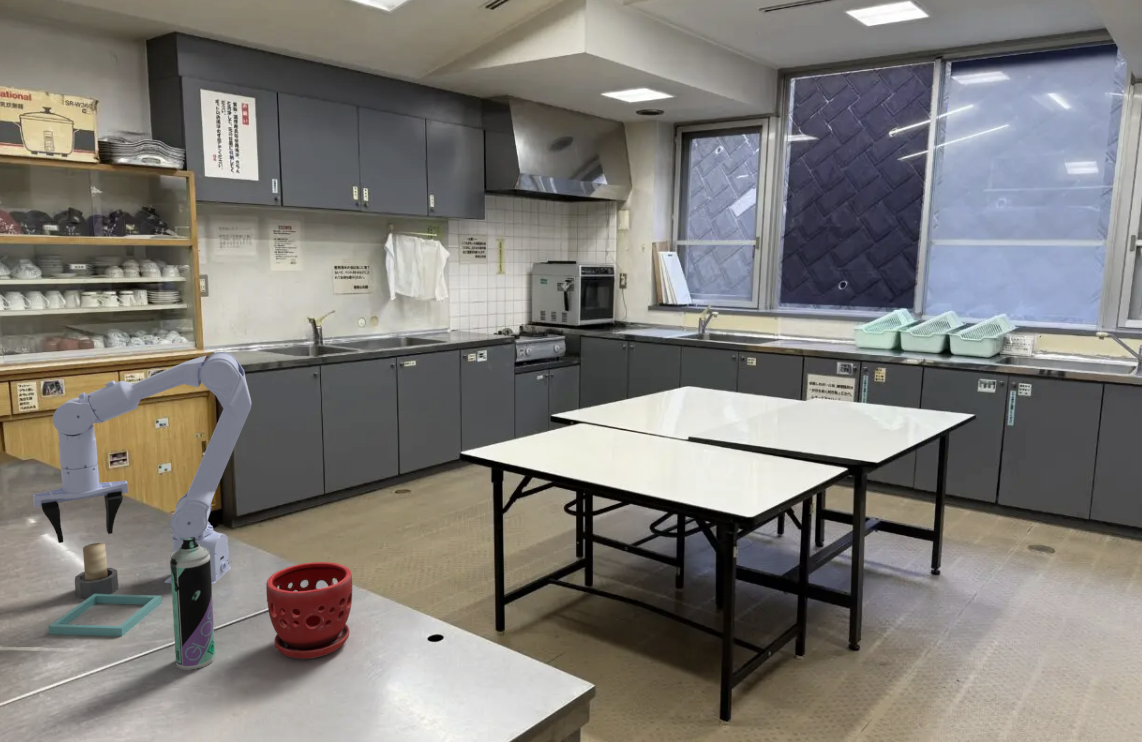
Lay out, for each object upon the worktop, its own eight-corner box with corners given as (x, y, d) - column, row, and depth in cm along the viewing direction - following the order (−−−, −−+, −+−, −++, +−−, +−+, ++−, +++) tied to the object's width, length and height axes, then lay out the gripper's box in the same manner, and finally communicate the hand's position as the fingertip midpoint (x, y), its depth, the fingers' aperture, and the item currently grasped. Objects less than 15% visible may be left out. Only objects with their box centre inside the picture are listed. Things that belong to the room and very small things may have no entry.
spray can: (199, 672, 116) (192, 546, 113) (167, 667, 117) (160, 543, 114) (222, 654, 121) (217, 533, 118) (192, 649, 122) (185, 530, 119)
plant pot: (369, 633, 129) (368, 566, 127) (318, 673, 117) (316, 599, 115) (305, 619, 133) (303, 553, 131) (250, 655, 121) (247, 584, 119)
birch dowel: (112, 586, 143) (109, 543, 141) (101, 595, 139) (97, 550, 138) (93, 586, 143) (90, 542, 141) (81, 594, 139) (78, 550, 138)
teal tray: (161, 605, 137) (161, 595, 137) (122, 638, 125) (121, 628, 125) (94, 603, 137) (94, 593, 137) (49, 636, 125) (48, 626, 125)
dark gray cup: (126, 585, 144) (124, 568, 144) (104, 601, 138) (103, 583, 137) (91, 584, 144) (89, 567, 144) (67, 600, 138) (66, 582, 137)
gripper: (121, 454, 146) (127, 522, 148) (29, 466, 138) (36, 538, 140) (127, 462, 141) (133, 533, 143) (31, 475, 132) (38, 550, 134)
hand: (85, 536), depth 141 cm, fingers open, 7 cm apart
